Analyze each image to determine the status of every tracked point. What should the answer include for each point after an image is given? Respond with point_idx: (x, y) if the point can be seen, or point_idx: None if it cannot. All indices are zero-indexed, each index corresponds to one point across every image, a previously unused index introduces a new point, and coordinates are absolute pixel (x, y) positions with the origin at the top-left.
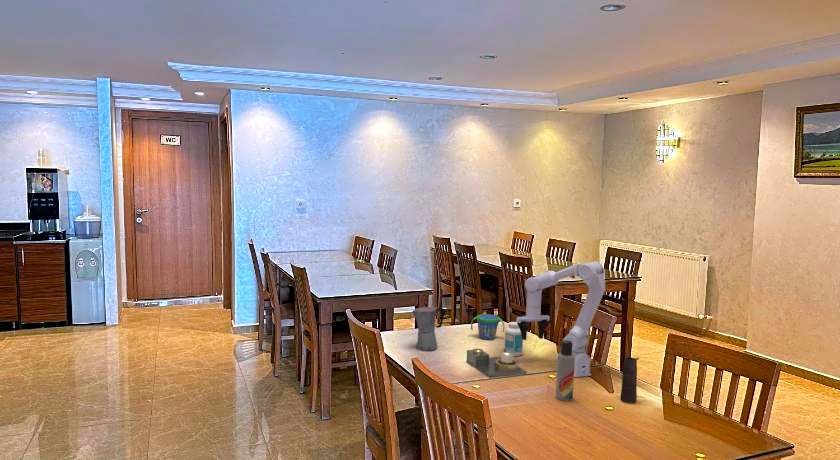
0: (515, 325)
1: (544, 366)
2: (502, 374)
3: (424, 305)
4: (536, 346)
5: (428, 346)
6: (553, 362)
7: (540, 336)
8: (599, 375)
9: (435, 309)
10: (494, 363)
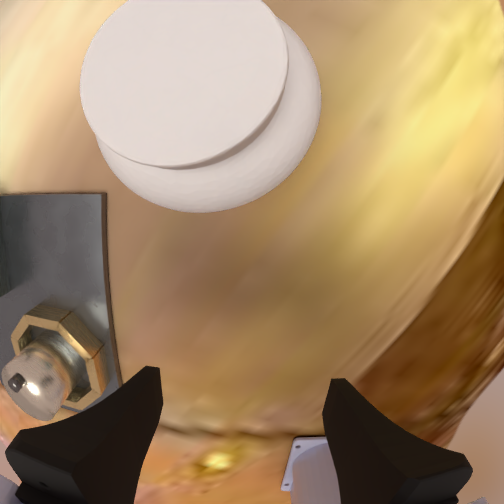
0: (136, 161)
1: (263, 387)
2: None
3: None
4: (453, 74)
5: None
6: (352, 353)
7: (327, 421)
8: None
9: None
10: (31, 288)
